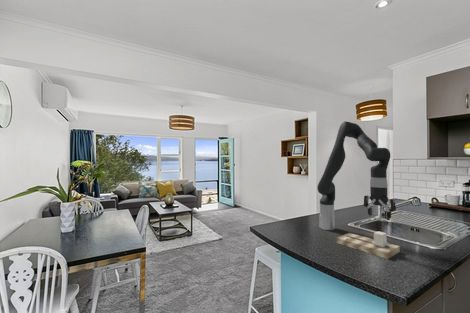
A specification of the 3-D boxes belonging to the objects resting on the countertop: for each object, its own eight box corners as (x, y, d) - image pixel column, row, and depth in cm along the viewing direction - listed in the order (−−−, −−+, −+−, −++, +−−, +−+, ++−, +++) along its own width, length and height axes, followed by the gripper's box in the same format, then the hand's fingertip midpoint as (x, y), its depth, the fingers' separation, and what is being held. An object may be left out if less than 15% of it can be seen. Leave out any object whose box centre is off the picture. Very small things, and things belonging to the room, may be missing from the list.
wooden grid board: (336, 242, 128) (336, 237, 128) (349, 237, 136) (349, 232, 136) (387, 259, 106) (387, 252, 106) (399, 251, 114) (399, 245, 114)
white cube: (372, 244, 116) (372, 233, 116) (377, 241, 119) (377, 230, 119) (383, 247, 111) (382, 235, 111) (388, 244, 115) (388, 233, 115)
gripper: (360, 185, 119) (361, 215, 119) (391, 188, 107) (391, 221, 107) (367, 184, 123) (368, 213, 123) (397, 186, 112) (398, 219, 111)
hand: (379, 217), depth 115 cm, fingers open, 8 cm apart
